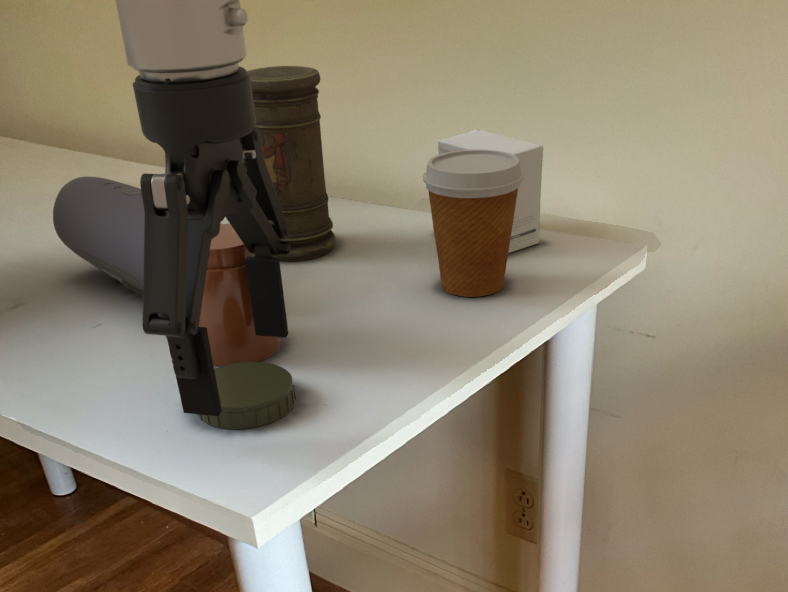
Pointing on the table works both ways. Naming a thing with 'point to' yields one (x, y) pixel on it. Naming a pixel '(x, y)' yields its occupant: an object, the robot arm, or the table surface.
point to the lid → (252, 395)
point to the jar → (231, 304)
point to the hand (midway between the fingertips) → (240, 371)
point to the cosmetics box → (530, 188)
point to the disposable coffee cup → (473, 217)
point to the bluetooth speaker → (104, 226)
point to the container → (294, 154)
